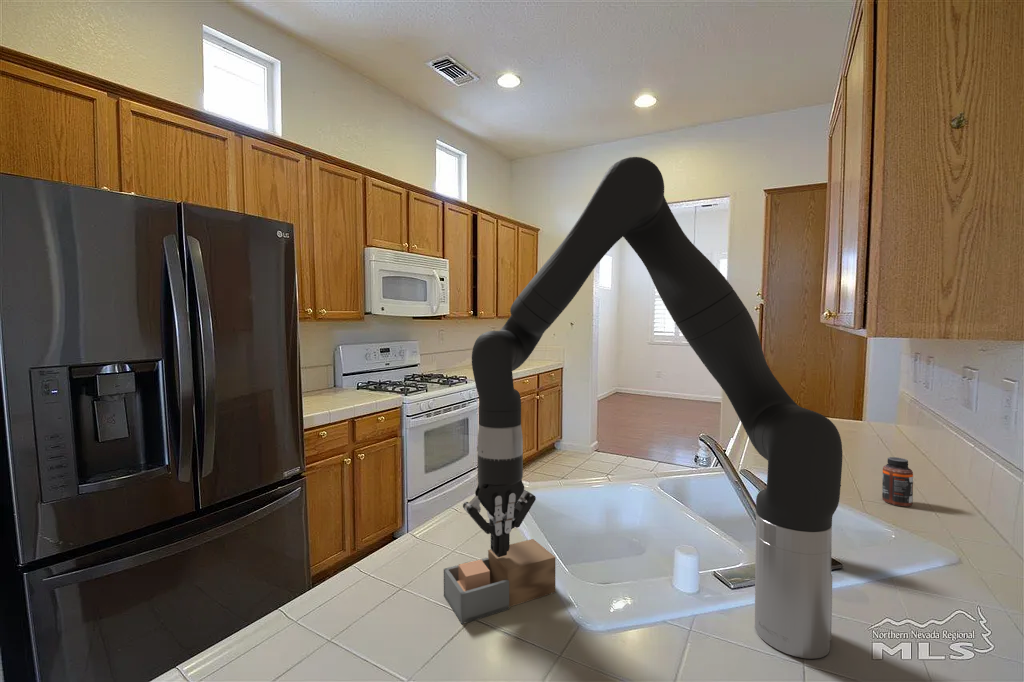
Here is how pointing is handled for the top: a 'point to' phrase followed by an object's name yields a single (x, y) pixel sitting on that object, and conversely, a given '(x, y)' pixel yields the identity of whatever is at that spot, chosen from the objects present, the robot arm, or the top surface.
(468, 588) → the tile
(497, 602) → the tray
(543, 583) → the brown block
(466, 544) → the top surface
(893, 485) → the supplement bottle
